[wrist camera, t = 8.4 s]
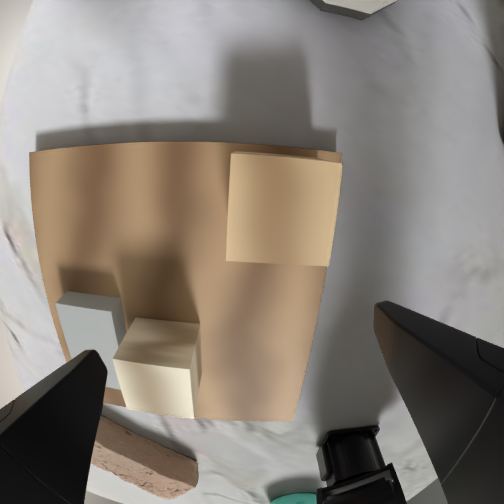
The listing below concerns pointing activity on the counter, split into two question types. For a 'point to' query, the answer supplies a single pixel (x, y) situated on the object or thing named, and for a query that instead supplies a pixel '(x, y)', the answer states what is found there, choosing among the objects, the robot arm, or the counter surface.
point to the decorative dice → (296, 499)
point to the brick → (143, 461)
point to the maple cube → (282, 208)
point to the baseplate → (178, 264)
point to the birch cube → (160, 367)
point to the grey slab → (93, 327)
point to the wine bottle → (353, 7)
